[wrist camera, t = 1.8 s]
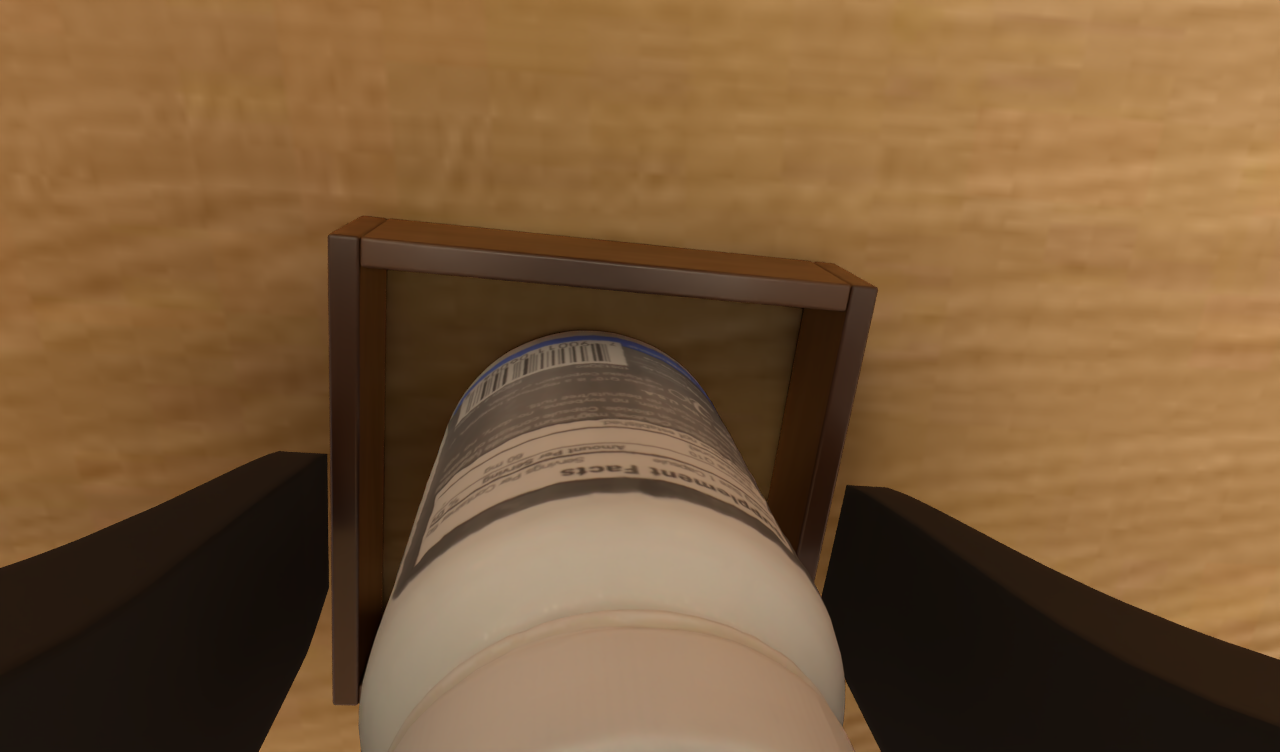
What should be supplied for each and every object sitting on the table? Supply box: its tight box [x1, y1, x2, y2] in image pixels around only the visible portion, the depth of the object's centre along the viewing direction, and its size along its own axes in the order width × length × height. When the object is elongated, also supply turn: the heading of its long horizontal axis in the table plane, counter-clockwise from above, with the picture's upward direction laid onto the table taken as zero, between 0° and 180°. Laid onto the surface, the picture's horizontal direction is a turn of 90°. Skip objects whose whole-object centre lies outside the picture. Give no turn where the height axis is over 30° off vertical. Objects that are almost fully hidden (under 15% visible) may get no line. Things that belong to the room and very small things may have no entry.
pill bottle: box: [359, 331, 855, 752], centre depth 9 cm, size 5×5×8 cm
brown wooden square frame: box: [328, 216, 878, 705], centre depth 12 cm, size 7×7×2 cm
